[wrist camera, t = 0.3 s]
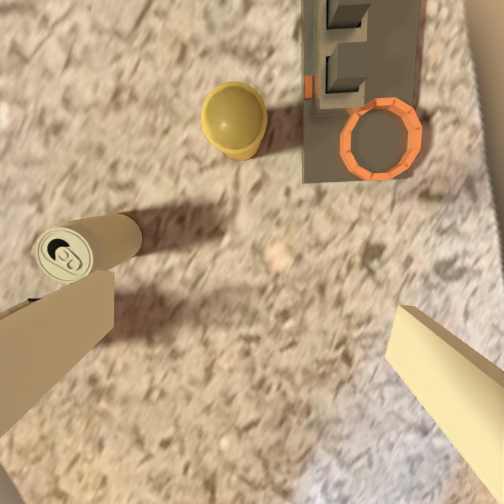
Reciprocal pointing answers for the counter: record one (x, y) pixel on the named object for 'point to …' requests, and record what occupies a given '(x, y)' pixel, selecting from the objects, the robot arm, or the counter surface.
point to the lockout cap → (234, 120)
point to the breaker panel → (357, 90)
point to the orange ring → (412, 147)
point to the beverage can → (87, 246)
